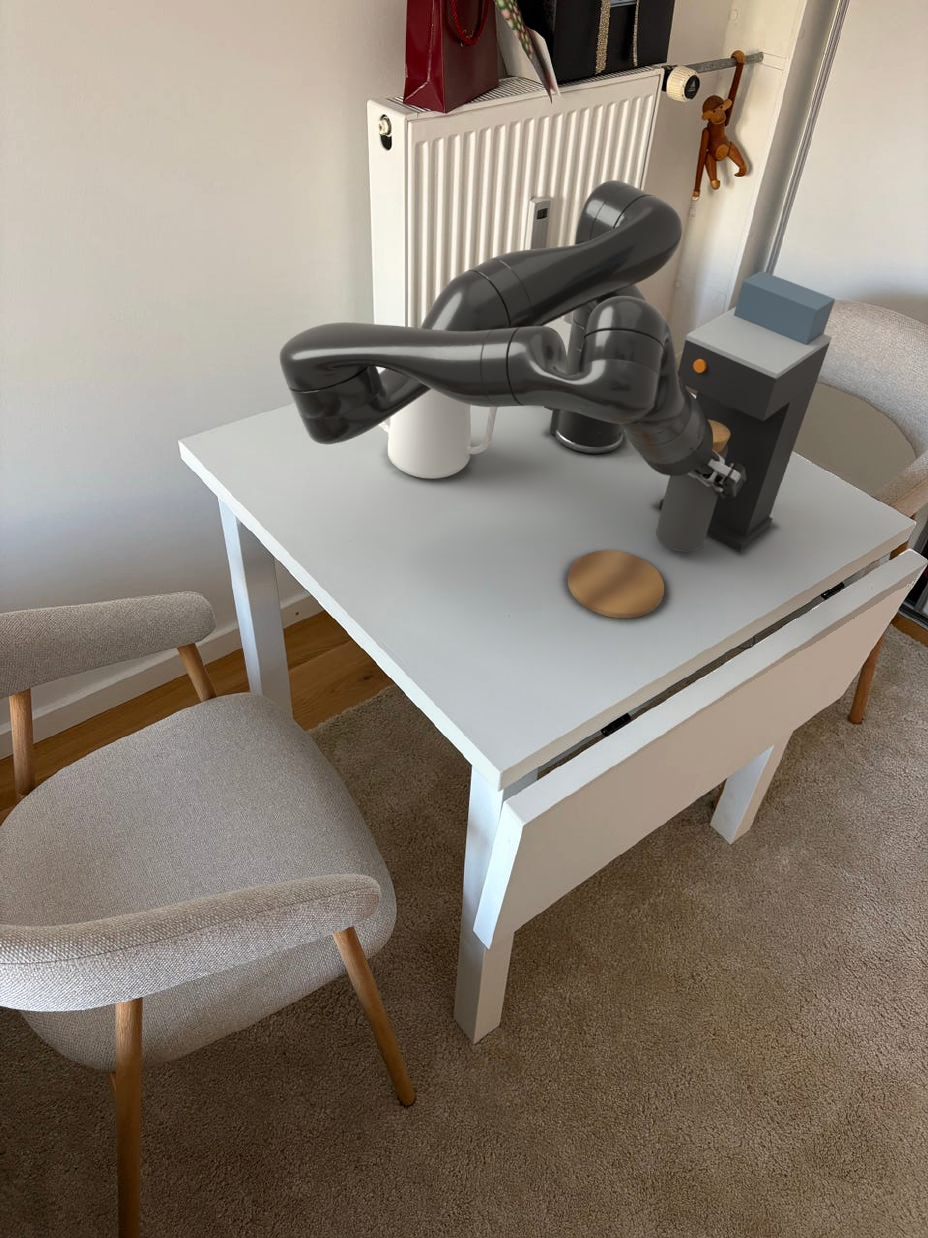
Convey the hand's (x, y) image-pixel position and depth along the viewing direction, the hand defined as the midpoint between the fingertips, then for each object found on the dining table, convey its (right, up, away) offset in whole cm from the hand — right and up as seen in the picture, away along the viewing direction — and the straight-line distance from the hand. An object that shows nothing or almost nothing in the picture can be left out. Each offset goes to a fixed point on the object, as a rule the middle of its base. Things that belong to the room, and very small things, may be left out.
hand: (702, 478), depth 115 cm
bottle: (-2, -7, +4) cm, 8 cm away
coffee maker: (+2, -5, +9) cm, 10 cm away
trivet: (-10, -13, -1) cm, 16 cm away
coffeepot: (-32, +5, +16) cm, 36 cm away
